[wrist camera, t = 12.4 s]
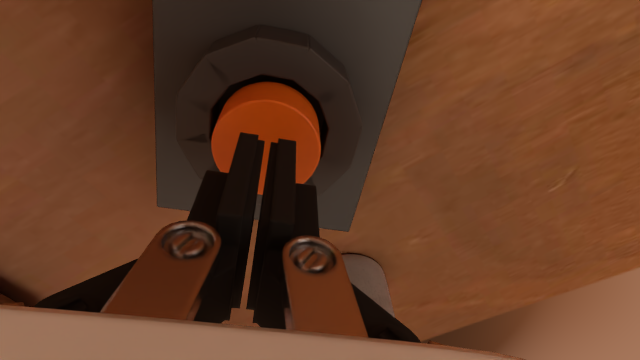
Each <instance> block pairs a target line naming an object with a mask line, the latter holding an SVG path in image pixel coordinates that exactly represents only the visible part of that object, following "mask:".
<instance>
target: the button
mask: <svg viewBox="0 0 640 360" xmlns="http://www.w3.org/2000/svg"><path fill="white" fill-rule="evenodd" d="M240 132H243V133H249V134H255V135H259V137H258V140H263V141H265V145H264V152H263V159H262V166H261V173H260V179H259V186H258V193H257V194H260V195H263V189H264V183H265V176H266V170H267V163H268V157H269V150H270V144H271V142H275V143H278V138H280V139H286V140H292V141H296V183H300V184H304V183H305V182H306V181H307V180H308V179H309V178H310V177H311V176H312V174H313V173H314V171H315V170H316V168H317V166H318V163H319V160H320V154H321V143H320V132H319V122H318V118H317V114H316V112H315V110H314V108H313V106H312V105H311V103H310V102H309V101H308V100H307V98H306V97H305V96H303V95H302V94H301V93H300V92H298V91H297V90H295V89H294V88H292V87H290V86H287V85H285V84H281V83H277V82H256V83H253V84H249V85H247V86H244V87H242V88H241V89H239V90H237V91H236V92H235V93H234V94H232V96H231V97H230V98H229V99H228V100H227V102H226V103H225V105H224V107H223V109H222V111H221V114H220V116H219V118H218V121H217V123H216V126H215V128H214V131H213V134H212V140H211V149H212V155H213V158H214V161H215V163H216V165H217V167H218V168H219V170H220V172H225V173H229V169H230V166H231V163H232V159H233V156H234V152H235V149H236V145H237V142H238V138H239V135H240Z"/></svg>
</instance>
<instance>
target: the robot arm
mask: <svg viewBox="0 0 640 360" xmlns="http://www.w3.org/2000/svg"><path fill="white" fill-rule="evenodd" d="M258 137H259V135H255V134H249V133H243V132H240V135H239V138H238V142H237V145H236V149H235V152H234V156H233V159H232V163H231V166H230V169H229V173H225V172H218V171H211V170H206V172H205V175H204V177H203V180H202V183H201V185H200V188H199V190H198V193H197V196H196V198H195V201H194V203H193V206H192V209H191V211H190V214H189V216H188V219H187V221H178V222H175V223H171V224H169V225H167V226H165V227H163V228H162V229H161V230H160V231H159V232H158V233H157V234H156V235H155V237H154V238H153V240H152V241H151V242H150V244H149V245H148V246H147V248H146V249H145V251H144V252H143V253H142V255H141V256H140V257H139V258H138V259H136V260H133V261H131V262H129V263H126V264H124V265H122V266H119V267H117V268H115V269H112V270H110V271H107V272H105V273H103V274H100V275H98V276H96V277H93V278H91V279H89V280H86V281H84V282H81V283H79V284H77V285H74V286H72V287H70V288H67V289H65V290H63V291H60V292H58V293H55V294H53V295H51V296H49V297H47V298H45V299H43V300H42V301H40V302H38V303H37V304H36V305H35V306H33V307H24V303H23V302H19V303H7V304H0V360H525V359H522V358H518V357H513V356H508V355H504V354H499V353H495V352H488V351H480V350H473V349H466V348H459V347H452V346H447V345H443V344H440V343H437V342H433V341H430V340H429V341H428V343H427V344H424V343H421V342H420V340H419V339H418V337H417V336H416V335H415V334H414V333H413V332H412V331H411V330H409V329H408V328H407V327H406V326H405V325H403V324H402V323H401V322H400V321H398V320H397V319H396V318H395V317H393V316H392V315H391V314H390V313H388V312H387V311H386V310H385V309H383V308H382V307H381V306H380V305H378V304H377V303H376V302H375V301H373V300H372V299H371V298H370V297H368V296H367V295H366V294H365V293H363V292H362V291H361V290H360V289H358V288H357V287H356V286H355V285H354V284H352V283H351V282H350V279H349V276H348V273H347V270H346V267H345V264H344V261H343V258H342V255H341V254H340V252H339V250H338V249H337V248H336V247H335V246H334V245H333V244H332V243H330V242H329V241H327V240H325V239H322V238H320V236H319V220H318V204H317V189H316V186H314V185H307V184H300V183H296V141H292V140H286V139H280V138H278V143H275V142H271V144H270V150H269V157H268V163H267V170H266V176H265V183H264V189H263V196H262V202H261V209H260V215H259V222H258V229H257V237H256V244H255V251H254V258H253V265H252V272H251V279H250V286H249V294H248V301H247V308H246V309H251V310H254V316H253V323H257V324H258V325H259V326H260V327H251V326H241V325H230V324H220V323H221V322H223V321H224V320H229V319H230V314H231V308H240V303H241V297H242V290H243V284H244V278H245V271H246V265H247V259H248V252H249V246H250V240H251V233H252V227H253V221H254V214H255V207H256V200H257V193H258V186H259V179H260V173H261V166H262V159H263V152H264V145H265V141H263V140H258Z"/></svg>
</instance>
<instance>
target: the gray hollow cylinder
mask: <svg viewBox="0 0 640 360" xmlns="http://www.w3.org/2000/svg"><path fill="white" fill-rule="evenodd" d="M342 258H343V261H344V264H345V267H346V270H347V273H348V276H349V279H350V282H351V283H352V284H354V285H355V286H356V287H357V288H358V289H360V290H361V291H362V292H363V293H365V294H366V295H367V296H368V297H370V298H371V299H372V300H373V301H375V302H376V303H377V304H378V305H380V306H381V307H382V308H383V309H385V310H386V311H387V312H388V313H390V314H391V315H392V316H393V317H395V315H394V311H393V307H392V303H391V299H390V294H389V290H388V286H387V282H386V278H385V275H384V272H383V270H382V268H381V267H380V265H379V264H378V263H377V262H375V261H374V260H372V259H370V258H368V257H365V256H362V255H355V254H346V255H342Z"/></svg>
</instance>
